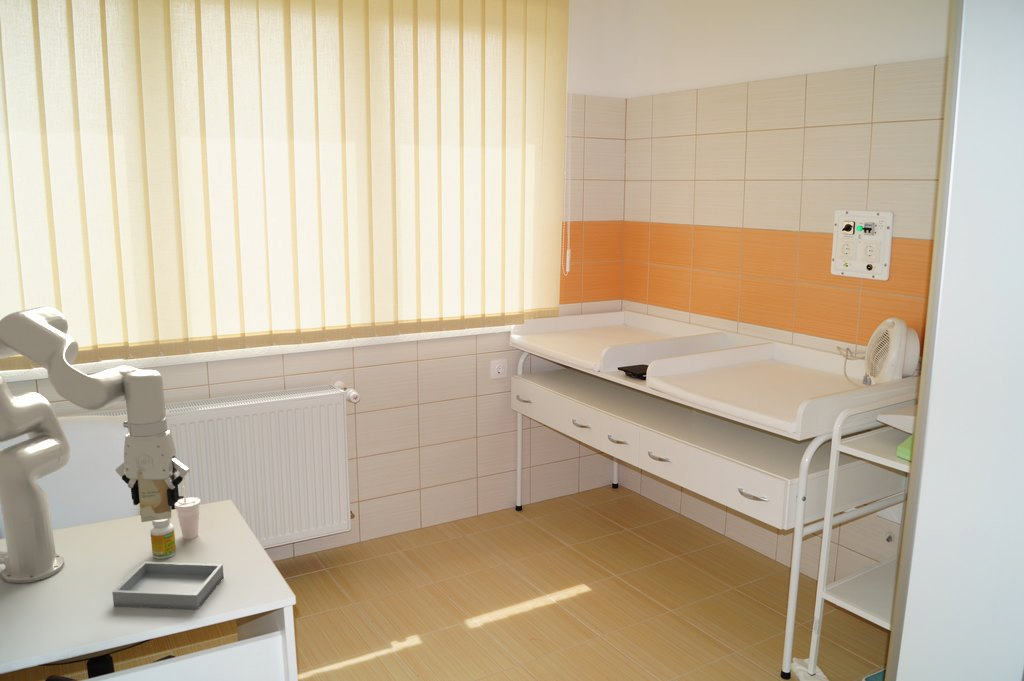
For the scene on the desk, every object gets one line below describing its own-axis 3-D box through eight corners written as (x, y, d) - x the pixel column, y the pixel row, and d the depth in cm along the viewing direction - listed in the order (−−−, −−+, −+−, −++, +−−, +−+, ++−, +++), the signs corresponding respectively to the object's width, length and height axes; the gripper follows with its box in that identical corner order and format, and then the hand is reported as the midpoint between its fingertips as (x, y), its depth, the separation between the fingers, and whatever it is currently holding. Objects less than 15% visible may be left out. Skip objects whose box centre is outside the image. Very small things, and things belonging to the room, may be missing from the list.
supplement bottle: (167, 560, 193) (163, 524, 190) (147, 558, 194) (144, 522, 191) (180, 550, 198) (177, 514, 196) (161, 548, 199) (158, 512, 197)
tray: (113, 606, 172) (112, 592, 172) (145, 575, 186) (144, 561, 185) (198, 609, 171) (196, 595, 171) (223, 577, 185) (222, 564, 184)
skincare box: (141, 523, 171) (135, 470, 168) (141, 515, 175) (136, 463, 172) (173, 518, 173) (167, 466, 170) (173, 510, 177) (168, 459, 174)
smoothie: (181, 531, 208) (177, 481, 205) (206, 530, 209) (202, 481, 206) (174, 542, 202) (169, 491, 199) (199, 541, 202) (195, 490, 199)
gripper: (99, 431, 166) (108, 509, 170) (178, 433, 165) (186, 511, 169) (119, 420, 174) (127, 495, 177) (195, 422, 172) (201, 497, 176)
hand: (156, 502), depth 173 cm, fingers closed on skincare box, 7 cm apart
